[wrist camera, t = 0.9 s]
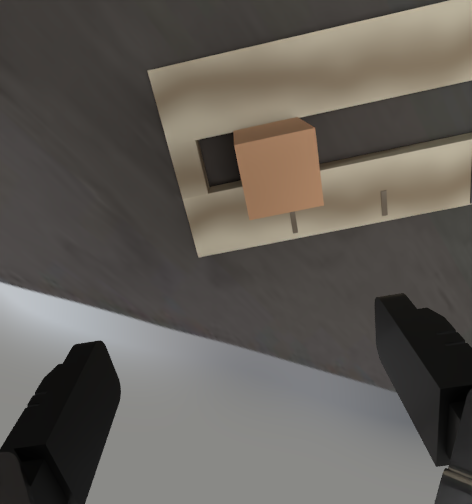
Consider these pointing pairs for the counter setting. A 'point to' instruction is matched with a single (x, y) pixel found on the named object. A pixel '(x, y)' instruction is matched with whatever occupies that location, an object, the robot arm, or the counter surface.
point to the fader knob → (279, 167)
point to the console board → (314, 102)
